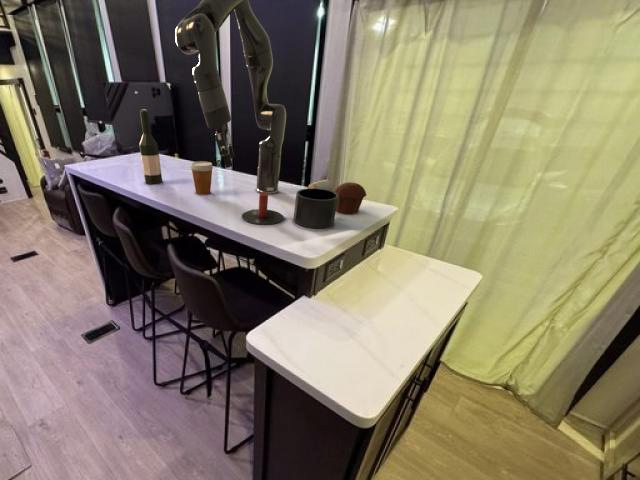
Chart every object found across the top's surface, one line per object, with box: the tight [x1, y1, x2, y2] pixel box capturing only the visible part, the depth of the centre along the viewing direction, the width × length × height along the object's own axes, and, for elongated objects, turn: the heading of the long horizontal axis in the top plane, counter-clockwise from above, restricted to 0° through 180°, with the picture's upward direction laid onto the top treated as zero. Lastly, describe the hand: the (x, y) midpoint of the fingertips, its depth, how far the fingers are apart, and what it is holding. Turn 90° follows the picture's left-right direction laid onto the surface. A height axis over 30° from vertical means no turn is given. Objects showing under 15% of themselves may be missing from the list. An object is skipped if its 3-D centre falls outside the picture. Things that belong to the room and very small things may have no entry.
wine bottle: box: [139, 108, 164, 186], centre depth 140 cm, size 8×8×30 cm
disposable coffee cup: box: [189, 161, 214, 196], centre depth 132 cm, size 10×10×12 cm
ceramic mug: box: [307, 179, 334, 192], centre depth 126 cm, size 11×8×8 cm
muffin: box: [333, 181, 367, 215], centre depth 116 cm, size 12×11×10 cm
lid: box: [241, 193, 284, 226], centre depth 108 cm, size 15×15×9 cm
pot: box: [292, 187, 339, 230], centre depth 105 cm, size 14×14×10 cm
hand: (230, 162), depth 101 cm, fingers open, 8 cm apart
